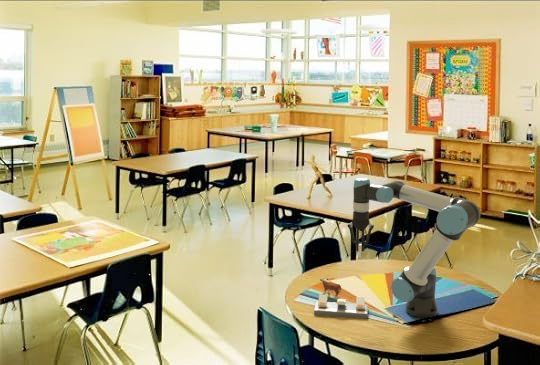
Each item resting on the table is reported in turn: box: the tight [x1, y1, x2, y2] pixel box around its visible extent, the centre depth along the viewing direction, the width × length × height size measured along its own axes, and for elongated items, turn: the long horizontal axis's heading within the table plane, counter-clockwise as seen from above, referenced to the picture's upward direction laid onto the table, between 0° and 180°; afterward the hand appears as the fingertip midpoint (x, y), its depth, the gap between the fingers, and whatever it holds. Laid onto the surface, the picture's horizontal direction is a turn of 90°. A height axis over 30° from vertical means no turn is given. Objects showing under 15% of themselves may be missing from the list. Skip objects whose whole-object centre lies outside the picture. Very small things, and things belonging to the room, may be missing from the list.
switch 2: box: [355, 296, 366, 309], centre depth 282 cm, size 4×7×1 cm, turn 170°
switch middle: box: [336, 298, 347, 305], centre depth 284 cm, size 4×7×1 cm, turn 170°
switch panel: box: [313, 300, 369, 319], centre depth 284 cm, size 25×12×4 cm, turn 80°
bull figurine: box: [319, 277, 342, 299], centre depth 304 cm, size 4×13×8 cm, turn 42°
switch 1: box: [317, 293, 329, 307], centre depth 286 cm, size 4×7×1 cm
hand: (359, 257), depth 288 cm, fingers closed
